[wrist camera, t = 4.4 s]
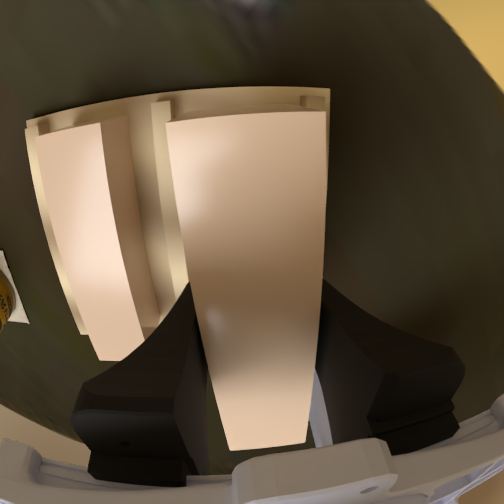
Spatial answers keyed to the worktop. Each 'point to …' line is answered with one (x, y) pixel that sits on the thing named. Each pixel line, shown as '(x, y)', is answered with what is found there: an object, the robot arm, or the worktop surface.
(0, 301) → the condiment
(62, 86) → the worktop surface
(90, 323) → the clay bar
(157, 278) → the rack
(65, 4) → the worktop surface
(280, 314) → the clay bar
